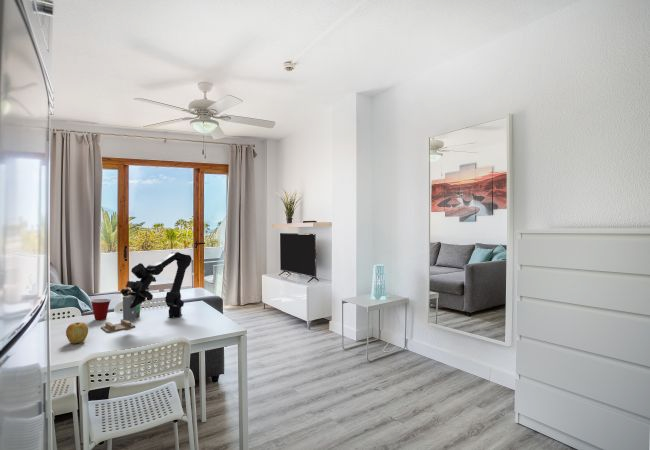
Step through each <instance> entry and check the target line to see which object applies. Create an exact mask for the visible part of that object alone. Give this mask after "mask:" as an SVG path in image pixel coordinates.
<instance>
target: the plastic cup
mask: <svg viewBox="0 0 650 450" xmlns="http://www.w3.org/2000/svg"><path fill="white" fill-rule="evenodd" d="M111 301H112V299H111V298H110V299H109V298H96V299H91V300H90V303H91V307H92V312H93V316H94V320H95V321H98V322H99V321H104V320H107V318H108V313H109V306H110V303H111Z"/></svg>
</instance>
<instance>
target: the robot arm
mask: <svg viewBox="0 0 650 450" xmlns="http://www.w3.org/2000/svg"><path fill="white" fill-rule="evenodd" d="M192 260H193V258H192V257H191V255H190V254H185V253H181V252H179V251H172V252H170V254H168V255H167V256H165V257H164V258H162V259H161V260H159V261H157V262H154V263H151V264H148V265H147V266H146V267H145V265H144V264H143V263H141V262H139V263H138V264H137V265H135V266H133V267H132V268H131V271H130V272H131V273H132V274H133V275H134V276H135V277H136V278H137V279H140V280H136V281H131V280H127V282H126V284H125V288H122V289H121V290H120V292H119V293H121V295H122V296H123V297H124V296H128V295H134V296H136V298H135V300H134V301H133V303H132V305H131V307H130V308H131V309H132V308H134V307H135V306H137V305H138V304H140V303H144V302H146V301H152V300H153V299H154V297H153V296H154V295H153V294H152V293H151V292H150V291H149V290H150V286H151V284H152V282H154V283H155V282H157V278H156V276H158V275H160V274H161V273H163V272H164V271H163V270H165V269H164V268H166V267H167V266H168V265H170V264H172V263H173V262H174V261H176V266H177V269H176V271H175V272H176V273H175V277H174V280H173V283H172V287H171V290H170V291H167V292H166V296H165V297H164V299H165V301H164V302H165V303H166V307H167V308H168V318H170V319H171V318H172V319H173V318H181V316H182V315H183V313H182V308H183V307H184V304H185V302H184V301H183V300H182V299H181V298H182V294H181V288H182V285H183V281H184V279H185V278H184V277H185V273H186V270H187V269H188V268H189V266H191V263H192ZM129 288H130V289H129Z"/></svg>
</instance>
